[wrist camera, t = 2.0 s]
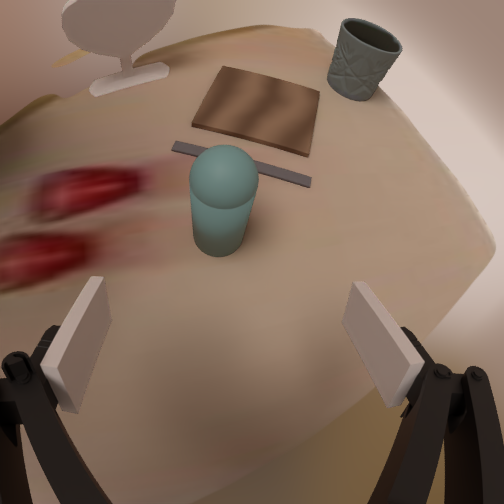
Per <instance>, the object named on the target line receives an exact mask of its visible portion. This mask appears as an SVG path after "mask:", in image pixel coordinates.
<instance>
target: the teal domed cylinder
mask: <svg viewBox="0 0 504 504" xmlns="http://www.w3.org/2000/svg"><path fill="white" fill-rule="evenodd" d="M258 182H259V176H258V170H257V167H256V165H255V163H254V161H253V159H252V158H251V157H250V156H249V155H248V154H247V153H246V152H245V151H243V150H242V149H240V148H238V147H235V146H231V145H217V146H214V147H211V148H209V149H207V150H205V151H204V152H202V153H201V154H200V155H199V156H198V157H197V159H196V160H195V161H194V163H193V165H192V168H191V171H190V177H189V183H190V198H191V212H192V224H193V236H194V240H195V243H196V245H197V246H198V248H199V249H200V250H201V251H202V252H204V253H205V254H207V255H210V256H214V257H223V256H227V255H230V254H232V253H233V252H234V251H236V250H237V249H238V247H239V246H240V244H241V242H242V239H243V236H244V232H245V229H246V225H247V222H248V218H249V215H250V212H251V208H252V205H253V201H254V198H255V194H256V191H257V187H258Z"/></svg>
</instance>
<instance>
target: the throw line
mask: <svg viewBox="0 0 504 504" xmlns="http://www.w3.org/2000/svg"><path fill="white" fill-rule="evenodd" d="M207 149H209V148H205V147H201V146H196V145H192V144H188V143H183V142H179V141H175V143H174V145H173V147H172V151H175V152H179V153H183V154H188V155H192V156H196V157H198V156H199V155H200V154H201V153H202V152H204V151H205V150H207ZM253 161H254V163H255V165H256V167H257V170H258V173H261V174H264V175H268V176H271V177H275V178H278V179H281V180H285V181H288V182H291V183H295V184H298V185H301V186H304V187H308V188H310V184H311V178H312V177H309V176H306V175H303V174H299V173H296V172H293V171H289V170H286V169H283V168H279V167H276V166H273V165H269V164H266V163H262V162H259V161H255V160H253Z"/></svg>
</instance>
